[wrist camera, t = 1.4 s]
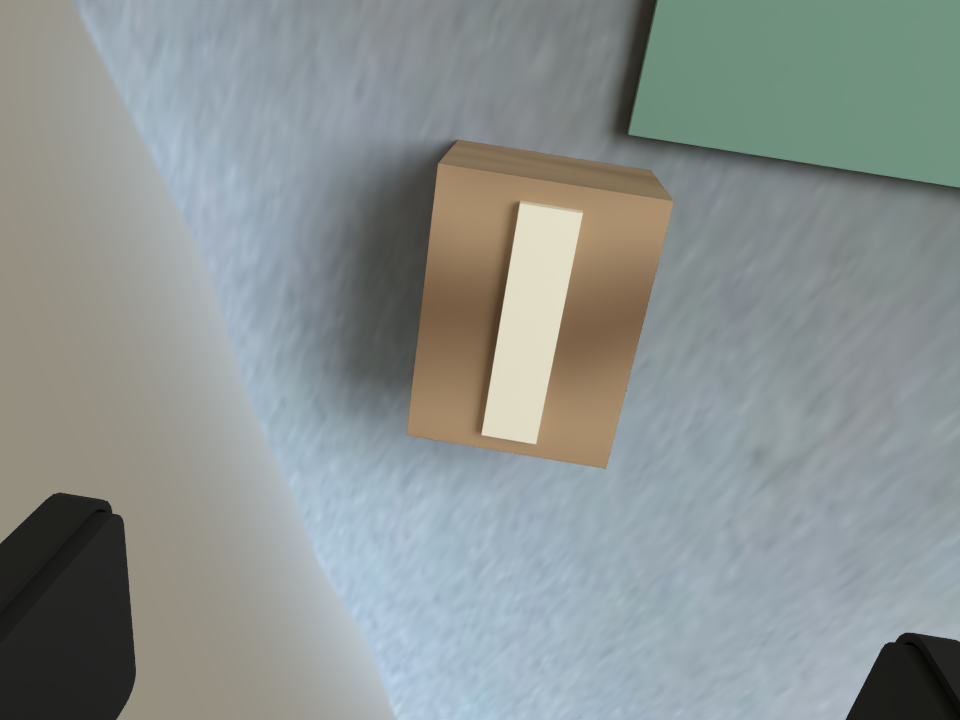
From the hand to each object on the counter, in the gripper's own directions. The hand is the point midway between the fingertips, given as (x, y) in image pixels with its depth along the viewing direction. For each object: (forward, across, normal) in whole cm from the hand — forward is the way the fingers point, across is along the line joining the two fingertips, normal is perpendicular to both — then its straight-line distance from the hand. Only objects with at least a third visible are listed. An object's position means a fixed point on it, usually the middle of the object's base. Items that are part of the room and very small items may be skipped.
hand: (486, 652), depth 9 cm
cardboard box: (+16, 0, 0) cm, 16 cm away
